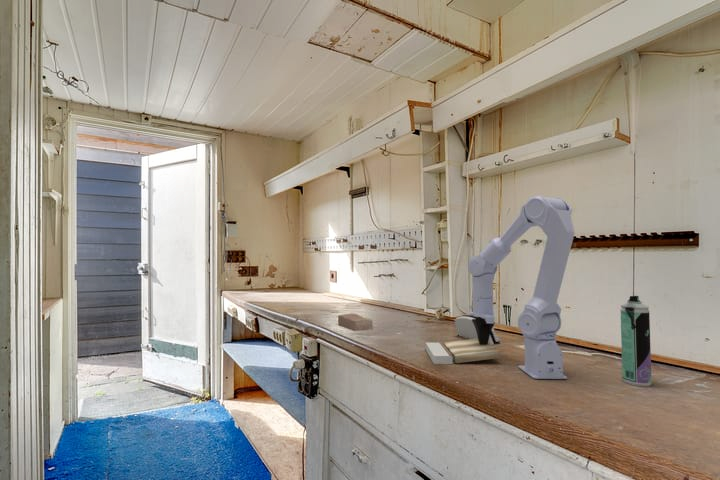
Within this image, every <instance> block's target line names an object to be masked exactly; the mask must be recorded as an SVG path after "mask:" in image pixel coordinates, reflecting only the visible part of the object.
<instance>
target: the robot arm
mask: <svg viewBox="0 0 720 480" xmlns="http://www.w3.org/2000/svg"><path fill="white" fill-rule="evenodd" d="M572 212H573V208H571V206H570V205H569V204H568V202H567V201H566V200H564V199H562V198H553V197H547V196H546V197H544V196H542V195H534V196H531V197H530V198H529V199H528V200H526V203H525V204H524V205H523V206H521V208H520V212H519V214H518V215H517V216H516V218H515V219H514V220H513V222H511V224H510V225H509V227H508V228H507V229H506V230H505V232H504V233H502V236H500V237H494V238H493V239H490V240H489V241H488V244H487V246H486V247H485V248H484V249H483V250H481V251H480V252H479V254H478V255H474V256H471V257H470V259H469V261H468V263H467V270H468V272H469V273H470V275H472V277H471V278H472V311H469V312H468V314H469V315H473V316H477V317H478V318H477V319H472V322H473V324H474V326H475V329H476V332H477V337H478V341H479V344H480V345H487V344H488V341H489V336H490V332H491V330H492V328H494V326H495V323H496V321H495V312H494V280H495V275H496V273H497V271H498V266H499V264H500V263H501V262H502V261H503V260H504V259H505V258H507V256H509V254H510V253H511V251H512V245H513V244H514V243H515V242H516V241H518V240H519V239H520V238H521V237H522V236H523V235H524V234H525V233H526V232H527V231H528V230H529V229H530V228H533V227H539V228H540V229H541V230H542V232H543V233H544V234H545V236H546V237H547V239H546V242H545V245H544V251H543V255H542V259H541V263H540V266H539V271H538V275H537V278H536V283H535V287H534V291H533V294H532V298H531V299H529V300H528V301H527V302H526V304H524V308H523V310H522V312H521V313H520V314H519V316H518V317H517V327H518V329H519V332H521V334H522V337H524V338H523V340H524V343H523V344H524V345H523V347H524V365H518V368H519V369H521V370H522V371H523V372H525V374H527V375H529V376H530V377H531V378H533V379H536V380H539V379H540V380H541V379H542V380H547V379H548V380H549V379H550V380H568V376H566V375H565V374H564V360H563V358H564V355H563V351H562V348H561V347H560V345H558V343H557V339H556V338H557V332H559V330H560V329H561V327H562V318H561V312H562V307H560V306H559V304H558V298H559V295H560V291H561V288H562V287H561V286H562V283H563V280H564V276H565V271H566V269H567V263H568V260H569V256H570V252H571V250H572V249H571V248H572V244H573V241H574V237H575V229H574V225H573V220H572Z"/></svg>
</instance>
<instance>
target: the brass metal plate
mask: <svg viewBox="0 0 720 480" xmlns="http://www.w3.org/2000/svg"><path fill="white" fill-rule="evenodd" d="M443 344H444V346H445V347H446V348H447V349H448V351H449V352H450V353H451V354H452V360H453V362H454V363H455V364H461V363H469V362H470V363H471V362H479V361H484V360H485V361H487V360H492V359H493V360H494V359H500V358H501V355H500V350H499V349H498V348H496V347H495V346H494V345H491V344H490V343H488V344H487V345H480V344H479V341H478V338H476V339H462V340H454V341H444V342H443Z"/></svg>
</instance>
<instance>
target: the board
mask: <svg viewBox="0 0 720 480" xmlns="http://www.w3.org/2000/svg"><path fill="white" fill-rule="evenodd" d="M425 351H426V353H427V355H428V356H429V358H430V360H431V361H432V363H433V364H434V365H453V362H454V360H453V359H452V354H451V353H450V352H449V351H448V349H447V348H446V347H445V346H444V342H442V341H439V342H425Z"/></svg>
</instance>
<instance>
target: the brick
mask: <svg viewBox="0 0 720 480" xmlns="http://www.w3.org/2000/svg"><path fill="white" fill-rule="evenodd" d="M337 322H338V323H337V324H338V326H340V327H343V328H346V329H349V330H352V331H355V332H360V331H371V330H373V328H374V327H373V325H374V324H373V319H371V318H367V317H363V316H362V315H360V314H357V313H344V314H338V316H337Z"/></svg>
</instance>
